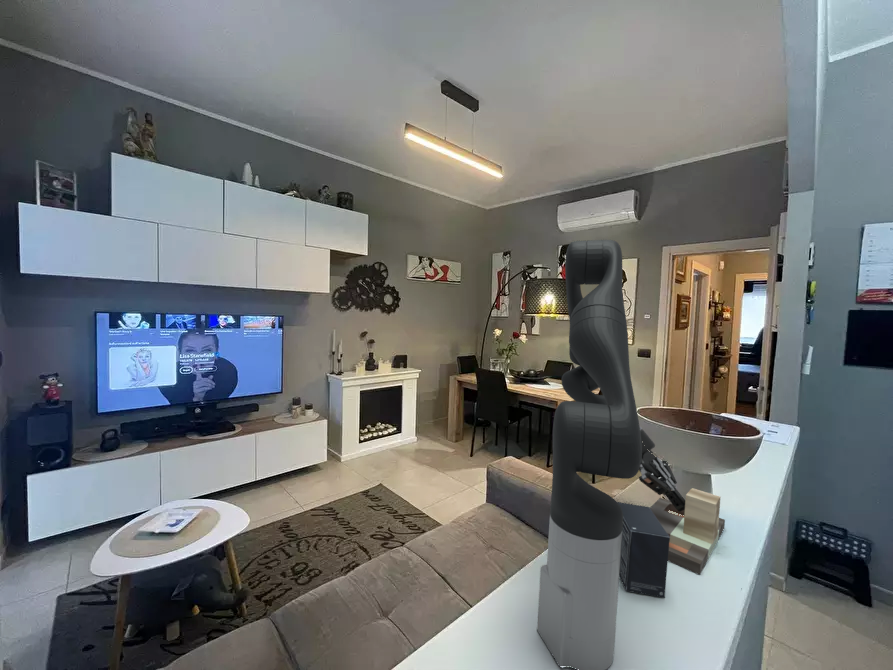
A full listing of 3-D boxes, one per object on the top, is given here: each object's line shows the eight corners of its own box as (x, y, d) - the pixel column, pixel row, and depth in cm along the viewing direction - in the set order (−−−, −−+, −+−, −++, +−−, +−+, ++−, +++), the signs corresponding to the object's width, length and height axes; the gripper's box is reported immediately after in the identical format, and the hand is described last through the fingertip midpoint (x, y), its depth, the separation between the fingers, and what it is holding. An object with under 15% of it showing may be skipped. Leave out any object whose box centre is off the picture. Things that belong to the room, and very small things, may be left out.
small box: (668, 600, 60) (672, 537, 59) (625, 592, 61) (629, 530, 60) (646, 559, 70) (650, 505, 69) (610, 553, 71) (613, 500, 71)
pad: (707, 559, 70) (708, 549, 70) (669, 543, 75) (670, 534, 75) (718, 539, 77) (719, 530, 77) (682, 526, 82) (683, 517, 82)
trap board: (699, 575, 66) (700, 564, 66) (624, 541, 75) (624, 531, 75) (724, 528, 82) (725, 519, 82) (659, 505, 91) (660, 497, 91)
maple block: (712, 544, 72) (715, 504, 72) (683, 533, 76) (685, 494, 75) (717, 534, 76) (720, 496, 75) (689, 524, 79) (691, 487, 79)
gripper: (629, 433, 79) (692, 512, 71) (649, 423, 88) (707, 492, 80) (603, 450, 83) (659, 527, 75) (625, 439, 92) (677, 506, 84)
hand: (684, 508), depth 78 cm, fingers closed
